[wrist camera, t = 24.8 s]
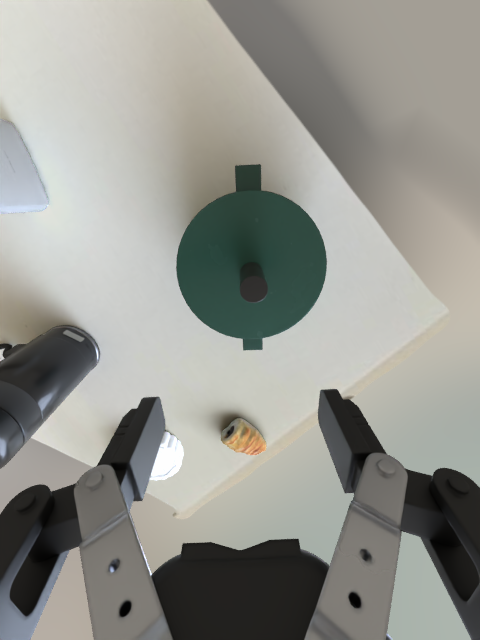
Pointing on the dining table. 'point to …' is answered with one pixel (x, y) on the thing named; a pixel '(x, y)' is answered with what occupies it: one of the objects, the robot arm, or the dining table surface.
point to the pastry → (243, 437)
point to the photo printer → (18, 175)
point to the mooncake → (167, 458)
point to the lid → (251, 264)
